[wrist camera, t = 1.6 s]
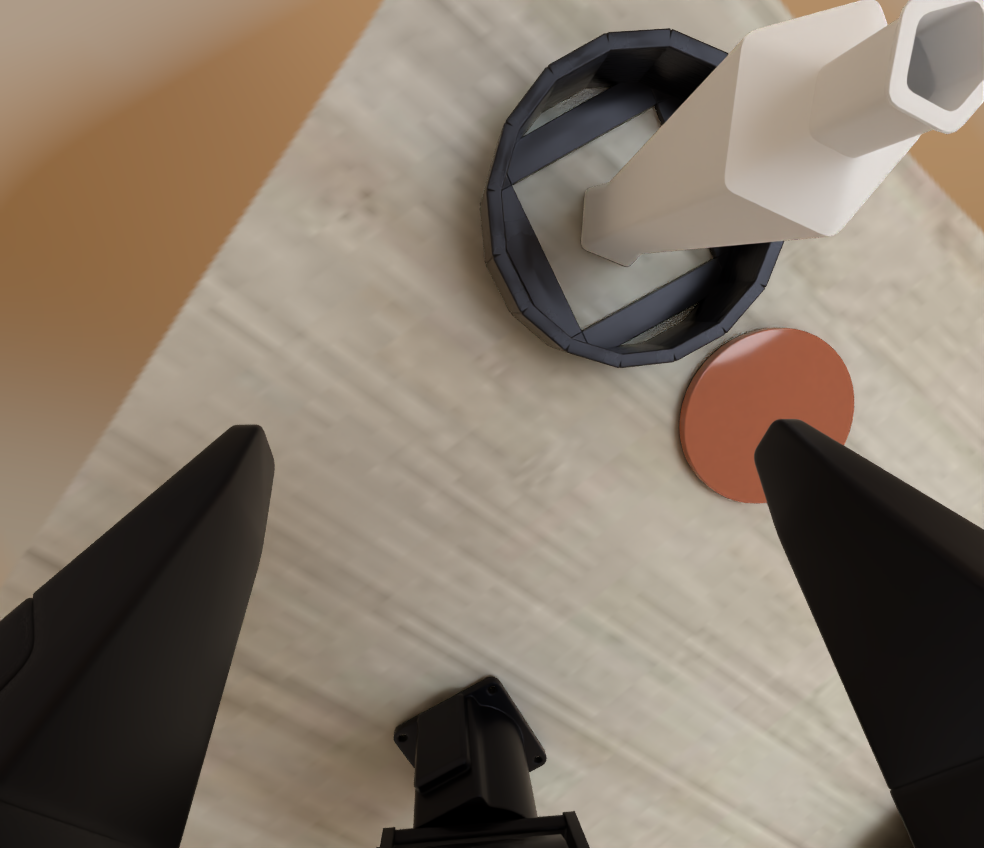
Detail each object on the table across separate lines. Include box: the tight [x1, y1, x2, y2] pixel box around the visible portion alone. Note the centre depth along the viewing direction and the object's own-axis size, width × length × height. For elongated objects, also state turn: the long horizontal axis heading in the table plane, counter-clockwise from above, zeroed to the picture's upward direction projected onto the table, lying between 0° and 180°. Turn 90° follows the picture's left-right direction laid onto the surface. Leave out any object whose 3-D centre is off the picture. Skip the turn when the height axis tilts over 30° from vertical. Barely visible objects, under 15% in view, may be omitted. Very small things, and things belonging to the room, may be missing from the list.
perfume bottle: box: [581, 0, 984, 266], centre depth 15 cm, size 5×4×15 cm
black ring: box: [480, 29, 784, 368], centre depth 21 cm, size 12×12×3 cm
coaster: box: [679, 328, 854, 503], centre depth 25 cm, size 9×9×1 cm
